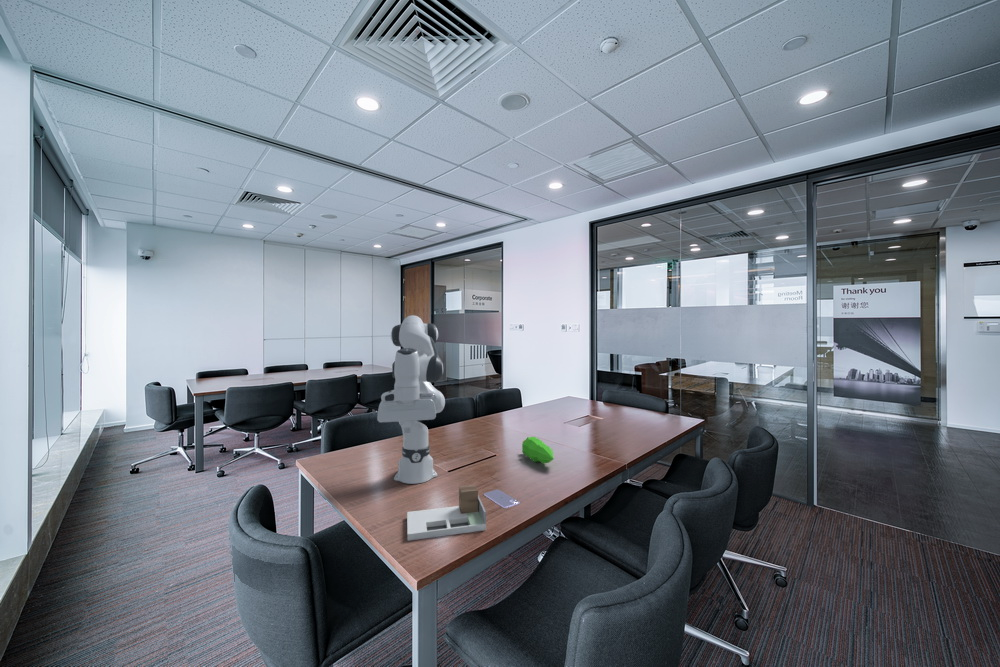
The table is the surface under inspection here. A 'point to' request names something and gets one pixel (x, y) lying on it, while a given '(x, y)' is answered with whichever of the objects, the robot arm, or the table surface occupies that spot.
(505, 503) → the mobile phone
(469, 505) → the walnut block
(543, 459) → the green faceted blob
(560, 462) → the table surface
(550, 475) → the table surface
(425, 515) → the track
